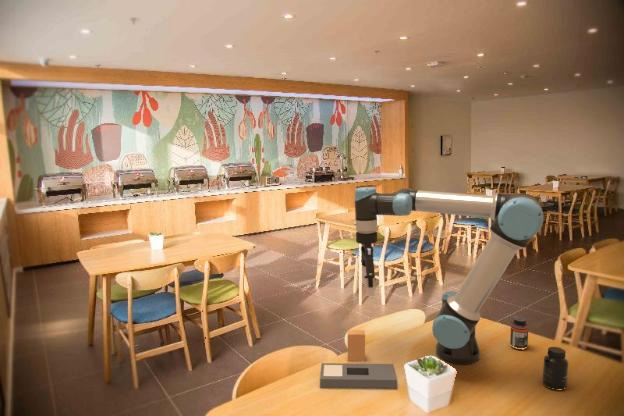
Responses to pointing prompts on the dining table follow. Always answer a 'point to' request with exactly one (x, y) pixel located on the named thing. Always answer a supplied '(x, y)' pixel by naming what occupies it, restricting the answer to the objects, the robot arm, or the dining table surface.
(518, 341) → the supplement bottle
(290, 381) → the dining table surface
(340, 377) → the block
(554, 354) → the supplement bottle
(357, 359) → the plug
